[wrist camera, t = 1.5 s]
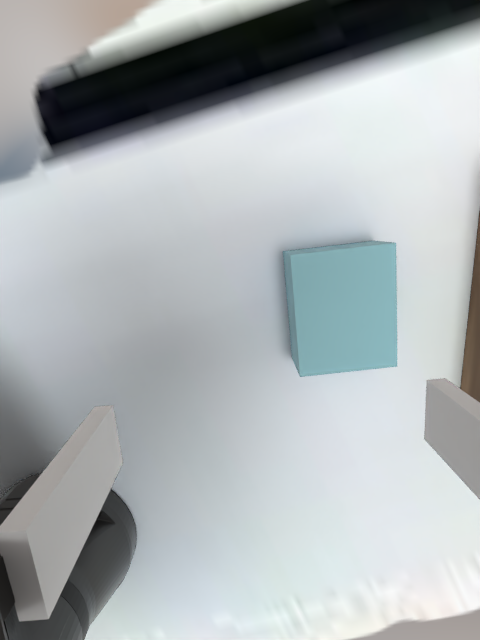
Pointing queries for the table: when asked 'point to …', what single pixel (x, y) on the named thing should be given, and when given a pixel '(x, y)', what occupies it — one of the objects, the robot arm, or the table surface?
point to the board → (473, 333)
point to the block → (342, 307)
